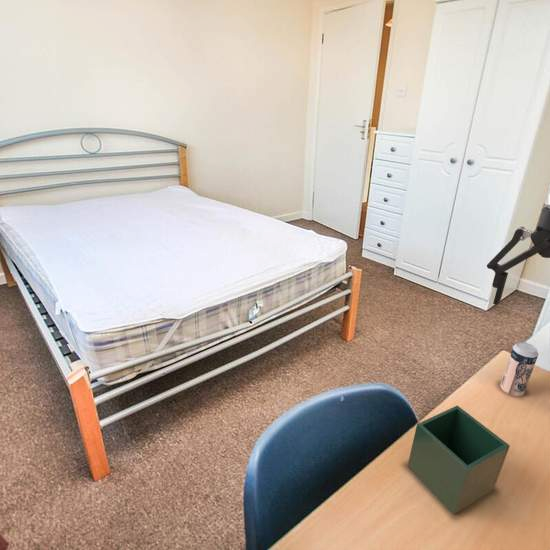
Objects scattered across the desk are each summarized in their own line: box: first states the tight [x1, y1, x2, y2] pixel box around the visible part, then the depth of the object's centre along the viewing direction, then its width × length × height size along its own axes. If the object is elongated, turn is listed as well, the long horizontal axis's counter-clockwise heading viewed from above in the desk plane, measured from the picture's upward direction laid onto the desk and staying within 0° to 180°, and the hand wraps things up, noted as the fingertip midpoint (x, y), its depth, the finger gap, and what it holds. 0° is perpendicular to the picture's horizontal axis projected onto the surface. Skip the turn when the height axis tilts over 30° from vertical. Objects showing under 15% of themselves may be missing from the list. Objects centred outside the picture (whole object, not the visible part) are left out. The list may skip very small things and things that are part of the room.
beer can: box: [500, 341, 539, 397], centre depth 85 cm, size 5×5×12 cm
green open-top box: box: [407, 405, 511, 515], centre depth 64 cm, size 10×10×11 cm
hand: (533, 313), depth 76 cm, fingers open, 13 cm apart
